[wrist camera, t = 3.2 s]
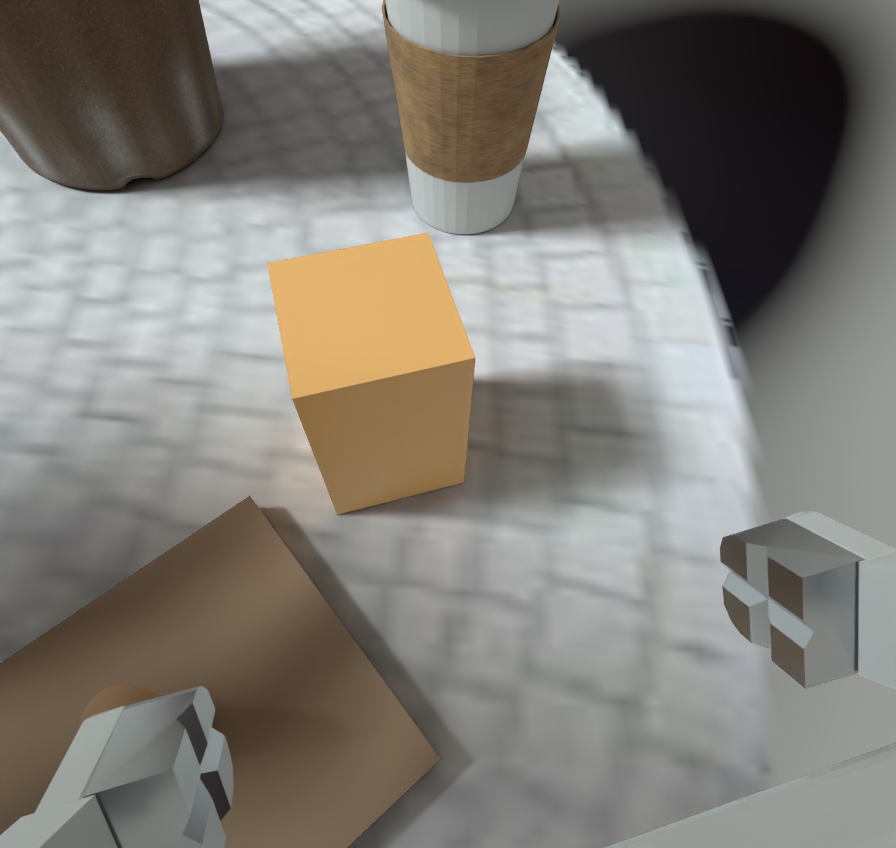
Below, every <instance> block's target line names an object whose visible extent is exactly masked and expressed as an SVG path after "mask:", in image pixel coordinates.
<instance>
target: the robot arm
mask: <svg viewBox="0 0 896 848" xmlns="http://www.w3.org/2000/svg"><path fill="white" fill-rule="evenodd" d="M720 557H721V562H722V563H723V564H724V565H725V566H726V567H727V568H728V570H729V571H730V572H729V574H728V576H727V578H726V580H725V582H724V584H723V586H722V587H723V597H724V605H725V607H726V610H727V612H728V614H729V617H730V619H731V621H732V623H733V624H734V625H735V627H736V628H737V629H738V631H739V632H740V633H741V634H742V635H743V636H744V637H745V638H746V639H748V640H749V641H750V642H751V643H754V644H757V645H760V646H764V647H767V648H770V649H771V658H772V661H773V662H774V663H776V664H777V665H778V666H779V667H780V668H781V669H783V670H784V671H785V672H786V673H787V674H789V675H790V676H791V677H792V678H793V679H795V680H796V681H797V682H798V683H799V684H801V685H802V686H803V687H804V688H809V687H812V686H816V685H819V684H822V683H826V682H829V681H832V680H836V679H839V678H842V677H846V676H849V675H852V674H855V673H858V676H860V677H863V678H865V679H868V680H870V681H873V682H876V683H878V684H881V685H883V686H886V687H888V688H891V689H893V690H896V549H895V548H893V547H891V546H889V545H886V544H884V543H882V542H880V541H878V540H876V539H874V538H871V537H869V536H867V535H865V534H863V533H861V532H859V531H857V530H855V529H852V528H850V527H848V526H846V525H844V524H842V523H840V522H838V521H835V520H833V519H831V518H829V517H827V516H825V515H822V514H821V513H819V512H816V511H804V512H801V513H797V514H794V515H791V516H788V517H785V518H783V519H779V520H777V521H774V522H771V523H768V524H764V525H761V526H758V527H755V528H752V529H748V530H745V531H742V532H739V533H736V534H732V535H729V536H726V537H723V539H722V542H721V546H720ZM214 714H215V707H214V704H213V702H212V699H211V697H210V694H209V692H208V690H207V689H205V688H204V687H203V686H198V687H194V688H190V689H187V690H183V691H179V692H175V693H172V694H168V695H164V696H160V697H157V698H153V699H149V700H145V701H141V702H138V703H134V704H130V705H129V706H122V707H118V708H115V709H112V710H108V711H105V712H102V713H98V714H95V715H92V716H90V717H89V718H87V719H85V720H84V721H83V723H82V725H81V727H80V728H79V730H78V732H77V734H76V736H75V738H74V740H73V742H72V743H71V745H70V747H69V749H68V751H67V753H66V755H65V757H64V758H63V760H62V762H61V764H60V766H59V768H58V770H57V772H56V773H55V775H54V777H53V779H52V781H51V783H50V785H49V787H48V788H47V790H46V792H45V794H44V796H43V798H42V800H41V802H40V803H39V805H38V807H37V809H36V811H35V813H33V814H30V815H26V816H23V817H21V818H20V819H18V820H17V821H16V822H15V823H14V824H13V825H12V826H10V827H9V828H8V829H7V830H6V831H5V832H4V833H2V834H1V835H0V848H224V847H225V841H226V836H225V833H224V830H223V828H222V825H221V822H220V821H221V820H222V819H223V818H224V816H225V815H226V814H227V812H228V811H229V810H230V809H231V804H232V797H233V790H234V787H233V765H232V760H231V755H230V750H229V747H228V744H227V741H226V738H225V735H223V734H222V733H220V732H218V731H217V730H215V729H213V728H212V723H213V718H214ZM604 848H896V743H894V744H891V745H888V746H885V747H883V748H880V749H877V750H874V751H871V752H869V753H866V754H863V755H860V756H858V757H855V758H852V759H849V760H846V761H844V762H841V763H838V764H835V765H832V766H830V767H827V768H824V769H821V770H818V771H816V772H813V773H810V774H807V775H804V776H802V777H799V778H796V779H793V780H790V781H788V782H785V783H782V784H779V785H776V786H774V787H771V788H768V789H765V790H762V791H760V792H757V793H754V794H751V795H748V796H746V797H743V798H740V799H737V800H734V801H732V802H729V803H726V804H723V805H720V806H718V807H715V808H712V809H709V810H707V811H704V812H701V813H698V814H696V815H693V816H690V817H687V818H685V819H682V820H679V821H676V822H673V823H671V824H668V825H665V826H662V827H660V828H657V829H654V830H651V831H649V832H646V833H643V834H640V835H638V836H635V837H632V838H629V839H626V840H624V841H621V842H618V843H615V844H613V845H610V846H607V847H604Z"/></svg>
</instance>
